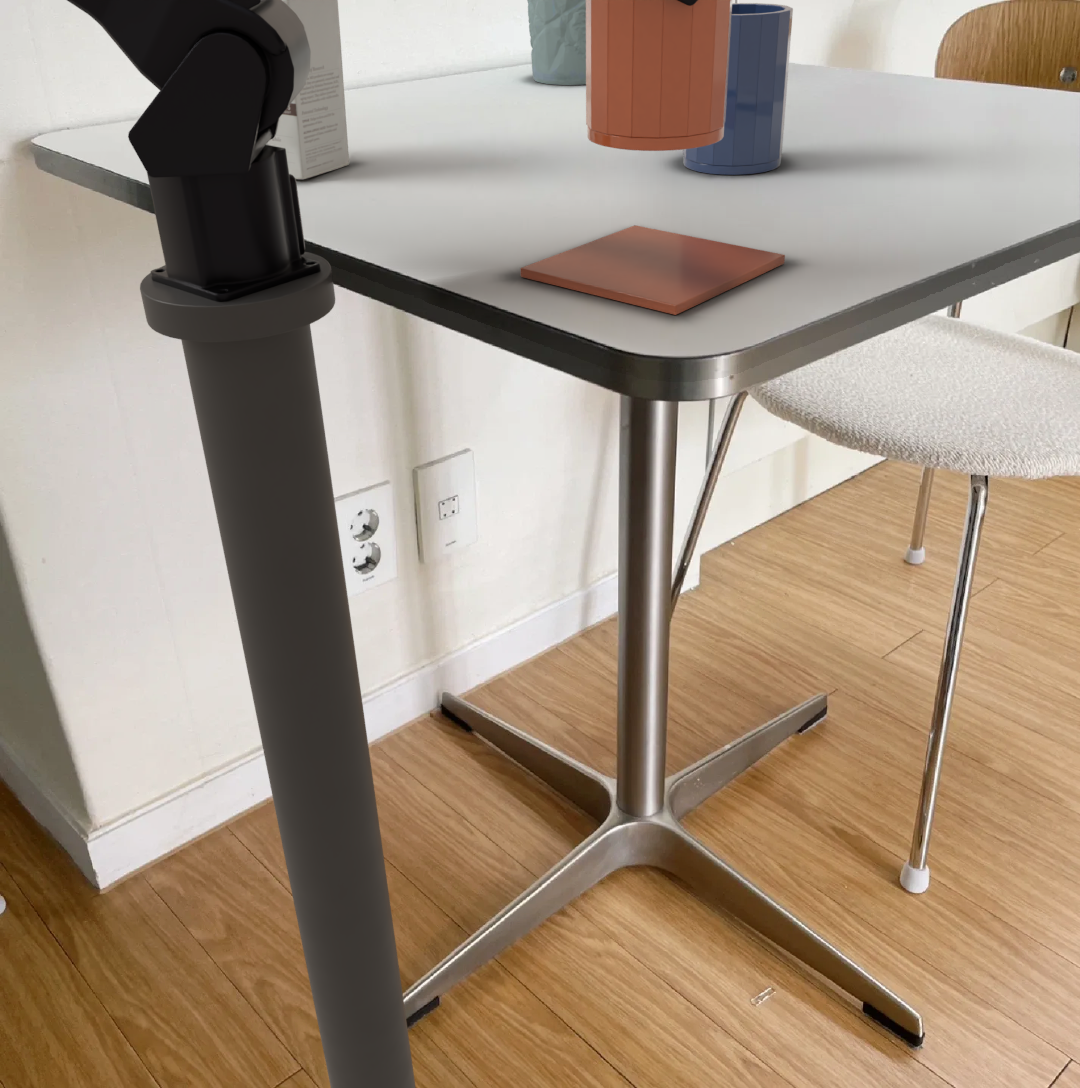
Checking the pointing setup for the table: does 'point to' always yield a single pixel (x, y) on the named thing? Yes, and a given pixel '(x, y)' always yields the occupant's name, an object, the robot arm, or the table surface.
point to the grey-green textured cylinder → (558, 41)
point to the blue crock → (751, 94)
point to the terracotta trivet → (653, 268)
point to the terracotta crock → (656, 73)
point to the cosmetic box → (317, 98)
